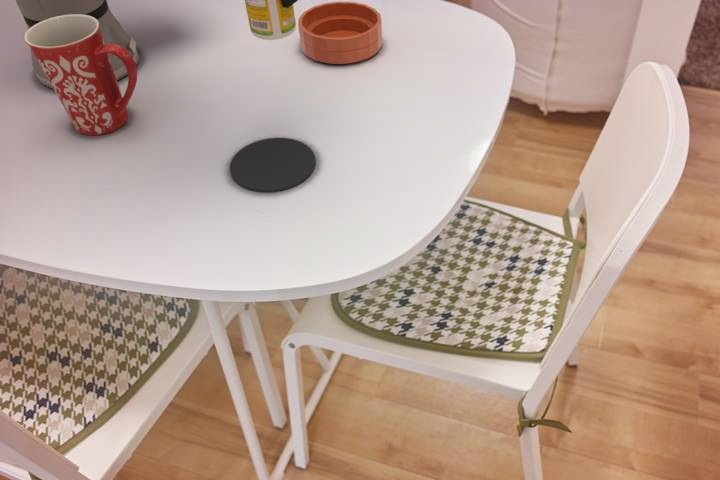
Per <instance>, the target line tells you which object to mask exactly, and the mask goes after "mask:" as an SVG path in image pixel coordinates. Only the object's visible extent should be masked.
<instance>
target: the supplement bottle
mask: <svg viewBox="0 0 720 480" xmlns="http://www.w3.org/2000/svg"><path fill="white" fill-rule="evenodd" d="M244 2H245V3H244V4H245V8H246V14H247V20H248V24H249V28H250V33H251V34H252V35H253V36H254V37H256V38H258V39H260V40H263V41H264V40H266V41H276V40H281V39H284V38H287V37H289V36H291V35H292V34H294V32H295V31H296V29H297V23H296V16H295V15H296V14H295V9H294V4H293V5H291V6H290V7H289V8H285V7H282V1H281V0H244Z"/></svg>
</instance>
